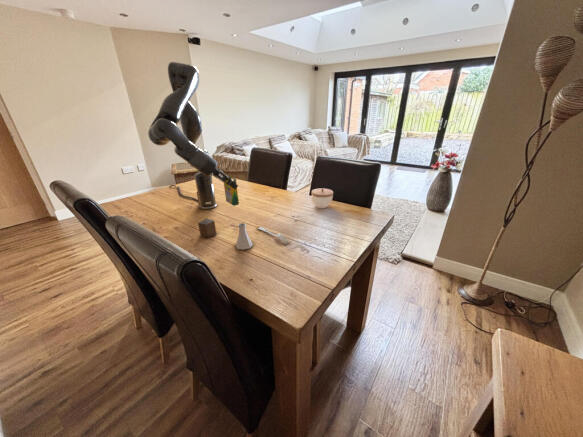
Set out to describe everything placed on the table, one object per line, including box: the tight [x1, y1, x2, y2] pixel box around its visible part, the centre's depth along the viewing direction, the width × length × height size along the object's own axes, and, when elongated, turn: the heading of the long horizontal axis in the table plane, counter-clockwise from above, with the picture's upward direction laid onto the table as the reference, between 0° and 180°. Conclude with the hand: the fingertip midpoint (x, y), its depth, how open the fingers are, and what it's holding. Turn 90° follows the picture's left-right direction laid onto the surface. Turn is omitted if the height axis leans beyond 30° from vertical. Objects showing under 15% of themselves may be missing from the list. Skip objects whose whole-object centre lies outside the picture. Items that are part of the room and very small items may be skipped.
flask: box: [235, 222, 254, 251], centre depth 98 cm, size 7×7×10 cm
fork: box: [257, 226, 290, 245], centre depth 108 cm, size 3×21×3 cm, turn 43°
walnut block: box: [197, 218, 217, 239], centre depth 108 cm, size 5×5×7 cm
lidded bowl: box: [311, 187, 334, 209], centre depth 138 cm, size 13×13×11 cm
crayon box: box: [223, 175, 240, 207], centre depth 104 cm, size 7×3×12 cm, turn 39°
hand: (233, 185), depth 103 cm, fingers closed on crayon box, 7 cm apart
